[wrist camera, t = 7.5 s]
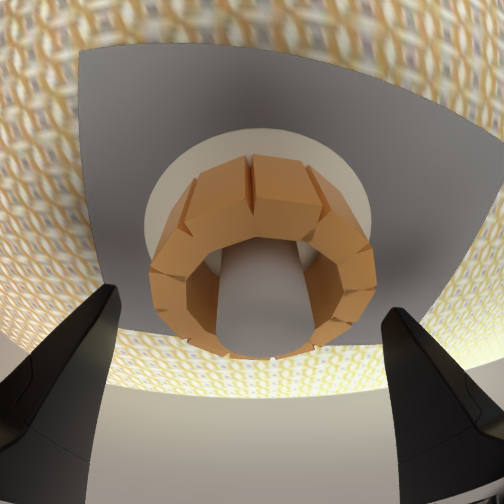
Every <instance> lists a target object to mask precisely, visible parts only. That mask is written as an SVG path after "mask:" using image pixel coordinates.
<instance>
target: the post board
mask: <svg viewBox="0 0 504 504" xmlns="http://www.w3.org/2000/svg"><path fill="white" fill-rule="evenodd" d="M78 120H79V138H80V151H81V162H82V171H83V179H84V187H85V194H86V200H87V207H88V213H89V218H90V224H91V229H92V234H93V239H94V244H95V248H96V253H97V257H98V261H99V265H100V269H101V273H102V277H103V281H104V284H114V285H116V286H117V287H118V291H119V295H120V299H121V303H122V309H121V314H120V319H119V325H118V328H123V329H129V330H135V331H142V332H148V333H155V334H163V335H170V336H178V335H177V334H176V333H175V332H174V331H173V330H172V329H171V328H170V327H169V326H168V325H167V324H166V323H165V322H164V321H163V320H162V319H161V318H160V317H159V316H158V315H157V310H158V309H155V308H154V306H153V300H152V293H151V286H150V279H149V270H150V267H151V266H150V265H151V262H152V259H153V257H154V254H155V251H156V248H157V246H158V243H159V240H160V237H161V235H162V232H163V230H164V227H165V224H166V222H167V219H168V217H169V214H170V212H171V210H172V208H173V207H174V205H175V204H176V203H177V201H178V200H179V198H180V197H181V195H182V194H183V192H184V191H185V190H186V188H187V187H188V185H189V184H190V183H191V181H192V180H193V178H195V179H197V180H198V177H199V174H200V173H201V172H204V171H206V170H208V169H211V168H213V167H216V166H218V165H220V164H223V163H225V162H228V161H230V160H233V159H235V158H238V157H241V156H243V155H245V157H246V159H247V161H248V164H249V166H250V168H251V163H252V156H253V154H257V155H265V156H272V157H279V158H286V159H292V160H298V161H302V163H303V165H304V167H306V166H307V165H308V164H309V165H310V166H311V167H312V168H314V169H315V170H316V171H317V172H318V173H320V174H321V175H322V176H323V177H324V178H325V179H327V180H328V181H329V182H330V183H331V184H332V185H333V186H335V187H336V188H337V189H338V190H339V191H340V192H341V194H342V195H343V197H344V199H345V200H346V202H347V204H348V205H349V207H350V209H351V210H352V212H353V214H354V216H355V217H356V219H357V221H358V223H359V224H360V226H361V228H362V230H363V232H364V233H365V235H366V237H367V239H368V241H369V243H370V245H371V246H372V248H373V255H374V263H375V272H376V281H377V285H376V286H374V289H375V293H374V295H373V296H372V298H371V300H370V302H369V303H368V305H367V307H366V308H365V310H364V312H363V313H362V315H361V316H360V318H359V320H358V321H357V322H352V327H351V328H350V329H348V330H347V331H345V332H344V333H342V334H341V335H339V336H338V337H336V338H335V339H333V340H331V341H330V342H328V343H327V344H325V345H376V344H382V335H381V323H382V320H383V319H384V318H385V316H386V315H387V313H388V312H389V310H390V309H391V308H392V307H402V308H404V309H405V310H406V311H407V312H408V313H409V314H410V315H411V316H412V317H413V318H414V319H415V320H416V321H417V322H418V323H419V322H420V321H421V319H422V318H423V317H424V315H425V314H426V313H427V311H428V310H429V309H430V307H431V306H432V305H433V303H434V302H435V301H436V299H437V298H438V296H439V295H440V293H441V292H442V291H443V289H444V288H445V286H446V285H447V283H448V282H449V280H450V279H451V277H452V276H453V274H454V273H455V271H456V269H457V268H458V266H459V265H460V263H461V261H462V260H463V258H464V257H465V255H466V253H467V252H468V250H469V248H470V246H471V245H472V243H473V241H474V239H475V238H476V236H477V234H478V232H479V230H480V228H481V227H482V225H483V223H484V221H485V219H486V217H487V215H488V213H489V211H490V209H491V207H492V205H493V203H494V200H495V198H496V196H497V194H498V192H499V189H500V187H501V185H502V182H503V180H504V142H502V141H501V140H499V139H498V138H496V137H495V136H493V135H491V134H490V133H488V132H487V131H485V130H484V129H482V128H480V127H479V126H477V125H475V124H474V123H472V122H470V121H468V120H467V119H465V118H463V117H461V116H460V115H458V114H456V113H454V112H452V111H450V110H448V109H446V108H444V107H442V106H440V105H438V104H436V103H434V102H432V101H430V100H428V99H426V98H424V97H421V96H419V95H417V94H415V93H412V92H410V91H408V90H405V89H403V88H400V87H398V86H396V85H393V84H390V83H388V82H385V81H382V80H380V79H377V78H374V77H371V76H368V75H365V74H362V73H359V72H356V71H353V70H350V69H346V68H343V67H339V66H336V65H332V64H329V63H325V62H321V61H317V60H313V59H308V58H304V57H299V56H294V55H289V54H284V53H279V52H273V51H267V50H260V49H253V48H245V47H237V46H226V45H214V44H194V43H153V44H134V45H121V46H112V47H103V48H96V49H89V50H83V51H79V67H78ZM318 253H319V251H318V250H316V249H315V248H313V247H312V246H311V245H309V244H308V243H306V242H301V241H292V240H282V239H273V238H263V237H254V238H251V239H248V240H245V241H242V242H239V243H236V244H233V245H230V246H227V247H224V248H221V249H219V250H216V251H213V252H210V253H209V254H208V255H207V256H206V258H205V259H204V261H205V263H206V264H207V266H208V267H209V269H210V270H211V272H212V273H213V274H215V275H217V276H219V277H220V282H219V294H218V307H217V321H216V335H217V338H218V340H219V342H220V343H221V344H222V345H223V346H224V347H225V348H227V349H228V350H230V351H232V352H234V353H236V354H239V355H243V356H247V357H255V358H269V357H276V356H281V355H284V354H287V353H290V352H293V351H295V350H297V349H298V348H300V347H302V346H303V345H304V344H305V343H307V342H308V340H309V339H310V338H311V336H312V335H313V332H314V328H315V324H314V319H313V314H312V309H311V305H310V300H309V295H308V291H307V286H306V282H305V277H304V273H303V272H304V271H305V270H306V269H307V268H309V267H310V266H311V265H312V264H313V263H314V262H315V261H316V259H317V256H318ZM178 337H179V336H178Z"/></svg>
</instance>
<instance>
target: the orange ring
mask: <svg viewBox="0 0 504 504" xmlns="http://www.w3.org/2000/svg"><path fill="white" fill-rule="evenodd" d="M254 237H263V238H273V239H282V240H292V241H301V242H306V243H308V244H309V245H311V246H312V247H313V248H315V249H316V250H318V251H319V253H318V256H317V259H316V261H315V262H314V263H313V264H312V265H311V266H310V267H309V268H307V269H306V270H305V271H304V272H303V273H304V277H305V282H306V286H307V291H308V295H309V300H310V305H311V309H312V314H313V319H314V324H315V328H314V332H313V335H312V336H311V338H310V339H309V340H308V342H307V343H305V344H304V345H303V346H302V347H300V348H298V349H297V350H295V351H293V352H290V353H287V354H284V355H281V356H276V357H274V358H275V359H276V360H277V359H281V358H285V357H289V356H293V355H297V354H301V353H305V352H309V351H313V350H315V349H314V345H316V346H319V347H322V346H324V345H325V344H327V343H328V342H330V341H331V340H333V339H335V338H336V337H338V336H339V335H341V334H342V333H344V332H345V331H347V330H348V329H350V328H351V327H352V322H357V321H358V320H359V318H360V316H361V315H362V313H363V312H364V310H365V308H366V307H367V305H368V303H369V302H370V300H371V298H372V296H373V295H374V293H375V289H374V286H376V285H377V281H376V272H375V263H374V255H373V248H372V246H371V245H370V243H369V241H368V239H367V237H366V235H365V233H364V232H363V230H362V228H361V226H360V224H359V223H358V221H357V219H356V217H355V216H354V214H353V212H352V210H351V209H350V207H349V205H348V204H347V202H346V200H345V199H344V197H343V195H342V194H341V192H340V191H339V190H338V189H337V188H336V187H335V186H333V185H332V184H331V183H330V182H329V181H328V180H327V179H325V178H324V177H323V176H322V175H321V174H320V173H318V172H317V171H316V170H315V169H314V168H312V167H311V166H310V165H309V164H308V165H307V166H306V167H304V165H303V163H302V161H298V160H292V159H286V158H279V157H272V156H265V155H257V154H253V156H252V163H251V168H250V166H249V164H248V161H247V159H246V157H245V155H243V156H241V157H238V158H235V159H233V160H230V161H228V162H225V163H223V164H220V165H218V166H216V167H213V168H211V169H208V170H206V171H204V172H201V173H200V174H199V177H198V180H197V179H195V178H193V180H192V181H191V183H190V184H189V185H188V187H187V188H186V190H185V191H184V192H183V194H182V195H181V197H180V198H179V200H178V201H177V203H176V204H175V205H174V207H173V208H172V210H171V212H170V214H169V217H168V219H167V222H166V224H165V227H164V230H163V232H162V235H161V237H160V240H159V243H158V246H157V248H156V251H155V254H154V257H153V259H152V262H151V265H150V266H151V267H150V270H149V279H150V286H151V293H152V300H153V306H154V308H155V309H158V310H157V315H158V316H159V317H160V318H161V319H162V320H163V321H164V322H165V323H166V324H167V325H168V326H169V327H170V328H171V329H172V330H173V331H174V332H175V333H176V334H177V335H178V336H179V337H180V338H181V339H187V338H188V339H187V343H189V344H191V345H194V346H196V347H198V348H201V349H203V350H206V351H209V352H211V353H214V354H216V355H219V356H222V357H224V356H225V355H226V354H228V353H229V358H232V359H249V360H270V357H269V358H255V357H247V356H243V355H239V354H236V353H234V352H232V351H230V350H228V349H227V348H225V347H224V346H223V345H222V344H221V343H220V342H219V340H218V338H217V335H216V321H217V307H218V294H219V282H220V277H219V276H217V275H215V274H213V273H212V272H211V270H210V269H209V267H208V266H207V264H206V263H205V261H204V259H205V258H206V256H207V255H208V254H209V253H210V252H213V251H216V250H219V249H221V248H224V247H227V246H230V245H233V244H236V243H239V242H242V241H245V240H248V239H251V238H254Z"/></svg>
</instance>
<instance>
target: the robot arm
mask: <svg viewBox="0 0 504 504" xmlns="http://www.w3.org/2000/svg"><path fill="white" fill-rule="evenodd" d="M121 309H122V303H121V299H120V295H119V291H118V287H117V286H116V285H114V284H103V285H102V286H101V287H100V288H98V289H97V290H96V291H95V292H94V293H93V294H92V295H91V296H89V297H88V298H87V299H86V300H85V301H84V302H83V303H82V304H81V305H80V306H78V307H77V308H76V309H75V310H74V311H73V312H72V313H71V314H70V315H69V316H68V317H67V318H66V319H65V320H64V321H62V322H61V323H60V324H59V325H58V326H57V327H56V328H55V329H54V330H53V331H52V332H51V333H50V334H49V335H48V336H47V337H46V338H45V339H44V340H43V341H42V342H41V343H40V344H39V345H38V346H37V347H36V348H35V349H34V350H33V351H32V352H31V355H30V354H29V355H28V356H27V357H26V358H25V359H24V360H23V361H22V362H21V363H20V364H19V365H18V366H17V367H16V368H15V369H14V370H13V371H12V372H11V373H10V374H9V375H8V376H7V377H6V378H5V379H4V380H3V381H2V382H0V504H85V499H86V489H87V480H88V472H89V465H90V463H89V462H90V458H91V452H92V445H93V440H94V434H95V429H96V424H97V419H98V414H99V410H100V405H101V401H102V396H103V392H104V388H105V384H106V380H107V376H108V372H109V368H110V364H111V361H112V357H113V353H114V348H115V342H116V336H117V330H118V325H119V319H120V314H121ZM381 335H382V344H383V354H384V364H385V370H386V376H387V382H388V387H389V393H390V400H391V406H392V413H393V420H394V429H395V437H396V447H397V458H398V463H399V464H398V472H399V490H400V504H428V503H432V502H435V501H436V503H434V504H504V411H503V410H502V409H501V408H500V407H499V406H498V405H497V404H496V403H495V402H494V401H493V400H492V399H491V398H490V397H489V396H488V395H487V394H486V393H485V392H484V391H483V390H482V389H481V388H480V387H479V386H478V385H477V384H476V383H475V382H474V381H473V380H472V379H471V378H470V376H469V375H468V374H467V373H466V372H465V371H464V370H463V369H462V368H461V367H460V365H459V364H458V363H457V362H456V361H455V360H454V359H453V358H452V357H451V356H450V355H449V354H448V353H447V352H446V351H445V349H444V348H443V347H442V346H441V345H440V344H439V343H438V342H437V341H436V340H435V339H434V338H433V337H432V336H431V335H430V334H429V333H428V332H427V331H426V330H425V329H424V328H423V327H422V326H421V325H420V324H419V323H418V322H417V321H416V320H415V319H414V318H413V317H412V316H411V315H410V314H409V313H408V312H407V311H406V310H405V309H404V308H402V307H392V308H391V309H390V310H389V312H388V313H387V315H386V316H385V318H384V319H383V320H382V323H381Z"/></svg>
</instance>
